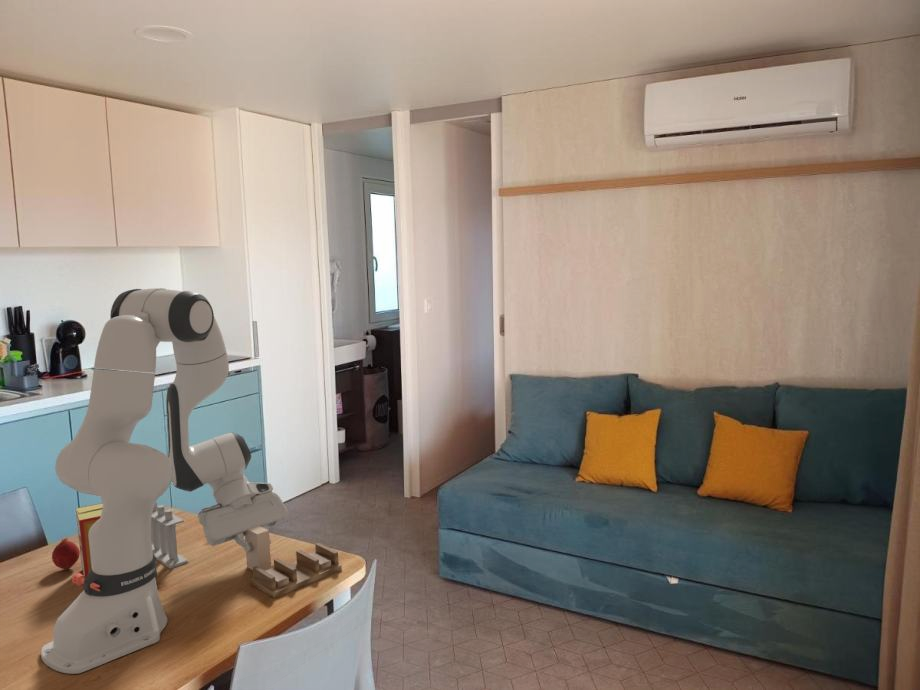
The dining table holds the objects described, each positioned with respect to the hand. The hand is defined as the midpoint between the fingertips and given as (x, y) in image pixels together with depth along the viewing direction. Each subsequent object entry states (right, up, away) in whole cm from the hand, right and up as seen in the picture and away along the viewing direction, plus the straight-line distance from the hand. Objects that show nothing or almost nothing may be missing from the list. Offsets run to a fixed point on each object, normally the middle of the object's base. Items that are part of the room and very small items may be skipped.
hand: (259, 548), depth 164 cm
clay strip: (0, -5, +1) cm, 5 cm away
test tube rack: (-30, -5, +13) cm, 32 cm away
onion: (-47, -6, +3) cm, 48 cm away
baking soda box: (-38, -7, +1) cm, 39 cm away
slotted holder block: (+10, -6, -3) cm, 12 cm away
